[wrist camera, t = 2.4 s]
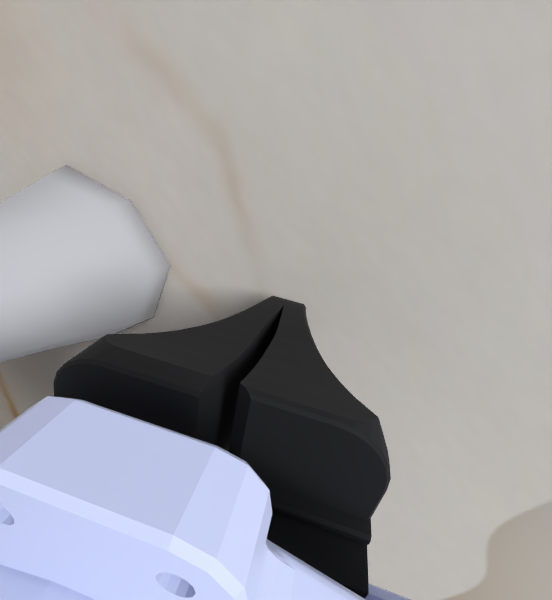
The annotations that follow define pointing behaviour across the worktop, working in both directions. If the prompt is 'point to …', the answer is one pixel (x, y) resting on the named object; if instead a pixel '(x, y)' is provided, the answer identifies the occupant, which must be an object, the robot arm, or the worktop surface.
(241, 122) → the worktop surface
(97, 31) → the worktop surface
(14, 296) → the flask
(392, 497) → the worktop surface
